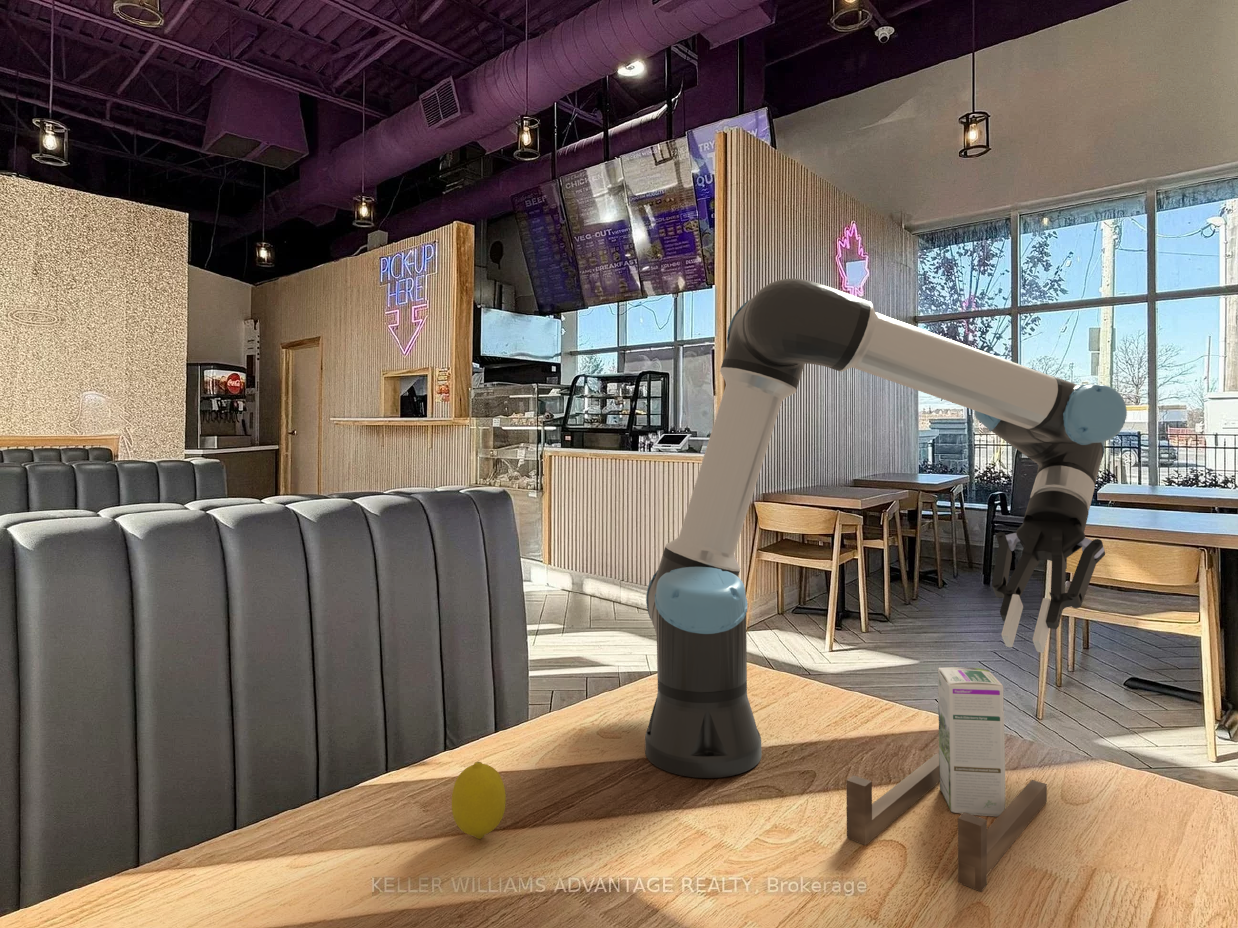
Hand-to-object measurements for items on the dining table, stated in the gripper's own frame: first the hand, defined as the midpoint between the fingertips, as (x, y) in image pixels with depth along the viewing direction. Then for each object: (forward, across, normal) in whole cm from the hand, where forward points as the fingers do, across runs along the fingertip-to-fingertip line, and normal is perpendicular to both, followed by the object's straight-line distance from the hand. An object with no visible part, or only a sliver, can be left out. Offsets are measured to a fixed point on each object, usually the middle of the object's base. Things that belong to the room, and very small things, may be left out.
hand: (1022, 643), depth 94 cm
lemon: (+53, +34, +32) cm, 71 cm away
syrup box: (+23, 0, +3) cm, 23 cm away
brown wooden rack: (+26, 0, +6) cm, 27 cm away
